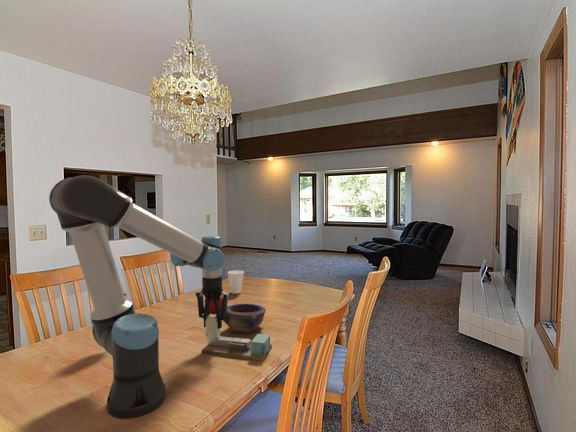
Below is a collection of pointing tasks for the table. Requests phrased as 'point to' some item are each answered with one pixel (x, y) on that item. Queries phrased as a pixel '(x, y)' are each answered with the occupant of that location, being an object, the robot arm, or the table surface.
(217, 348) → the rail base
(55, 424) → the table surface
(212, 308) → the fruit
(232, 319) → the bowl
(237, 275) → the cup
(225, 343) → the slide bar
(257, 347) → the socket block
